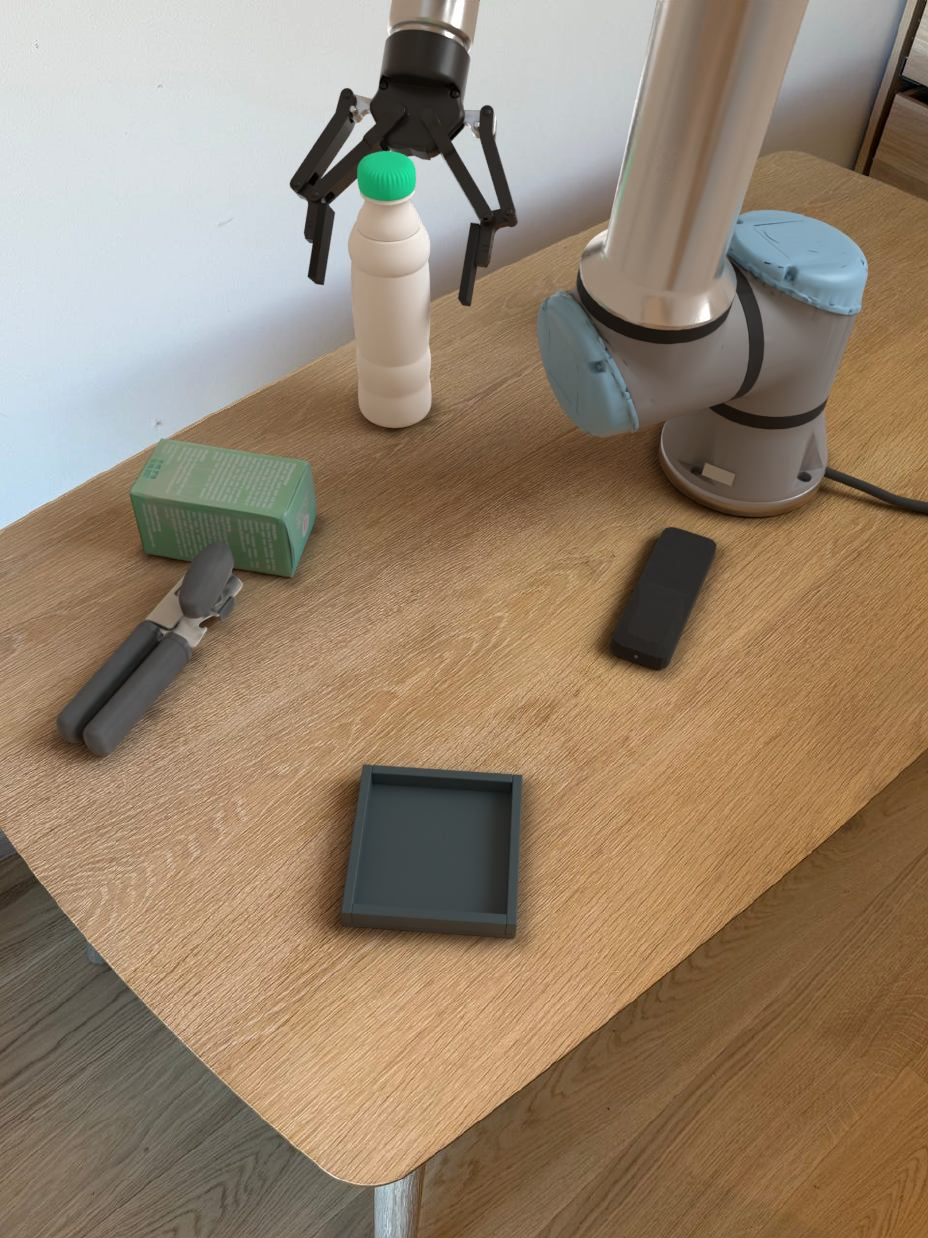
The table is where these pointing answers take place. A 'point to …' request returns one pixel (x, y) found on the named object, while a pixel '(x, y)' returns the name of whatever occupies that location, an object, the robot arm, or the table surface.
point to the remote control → (663, 598)
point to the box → (225, 505)
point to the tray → (435, 852)
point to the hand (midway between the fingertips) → (389, 292)
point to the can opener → (151, 654)
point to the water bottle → (390, 294)
